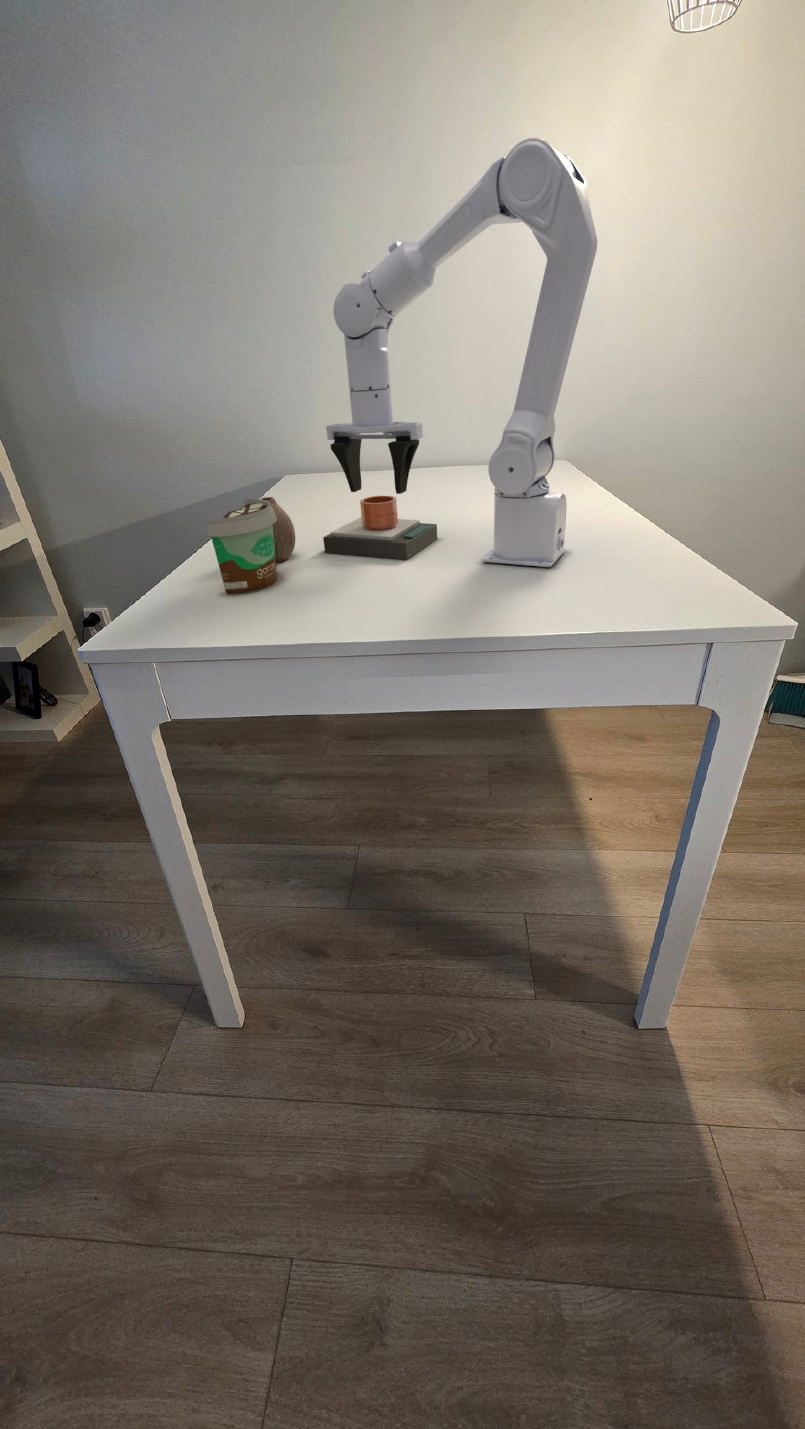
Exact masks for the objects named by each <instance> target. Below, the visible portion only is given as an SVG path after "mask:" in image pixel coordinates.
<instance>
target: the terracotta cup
mask: <svg viewBox="0 0 805 1429" xmlns="http://www.w3.org/2000/svg"><path fill="white" fill-rule="evenodd" d="M397 499H398V498H397V497H396V496H392V495H373V496H368V497H364V498H361V499H360V502H359V504H360V515H361V517H362V525H363V526H365V528H366V529H367V530H373V531H381V530H388V529H392V528H394V527H395V526H396V524H397V523H398V519H399V517H398V516H399V514H398V502H397Z"/></svg>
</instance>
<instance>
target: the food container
mask: <svg viewBox="0 0 805 1429" xmlns="http://www.w3.org/2000/svg"><path fill="white" fill-rule="evenodd" d="M243 500H244V506H242V507H241V508H239V509H236V510H235V509H234V510H231V511H228V512H227V513H226V514H225V515H224V516H223V517H220V518H207V519H206V522H207V525H206V528H207V537H208V538H211V542H212V545H213V549H214V553H215V556H216V561H217V564H218V569H219V571H220V576H221V580H222V582H223V587H224V590H225V594H226V595H242V594H249V593H254V592H259V591H261V590H264V589H267V588H269V587H271V586H273V585H274V584H276V582H277V581H278V573H277V562H276V559H275V548H274V537H273V525H272V524H274V523H275V522H276V521H277V518H276V515H275V512H274V510H273V507H272V506H270V503H269V502H268V501H266V500H262V499H260V498H246V497H245V498H244V499H243Z"/></svg>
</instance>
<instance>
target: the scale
mask: <svg viewBox="0 0 805 1429" xmlns="http://www.w3.org/2000/svg"><path fill="white" fill-rule="evenodd" d="M322 540H323V547H324V553H325V554H333V555H335V554H336V555H345V556H346V555H347V556H358V557H369V558H382V559H391V560H392V559H393V560H402V561H404V560H405V561H408V560H409V559H410V558H412V557H414V556H415V555H417V554H418V553H419V552H421V551H423V550H424V549H425V548H426V547H428V546H429V545H432V544H433V543H435V541H437V540H438V524H437V523H428V522H420V519H407V518H406V519H404V518H398V523H397V524H396V526H395V527H394V528H392V529H388V530H381V531H373V530H367V529H366V528H365V526H363V525H362V516H361V517H359V518H356V519H354V520H353V521H351V522H348V523H347V524H344V525H343V526H341V527H338V528H337V529H335V530H333V531H330V533H329V534H327V535H325V536H323V537H322Z"/></svg>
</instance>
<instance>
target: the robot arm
mask: <svg viewBox="0 0 805 1429" xmlns="http://www.w3.org/2000/svg"><path fill="white" fill-rule="evenodd" d="M478 180H479V181H477V182H476V183H475V185H473V187H472V188H470V189H469V190H468V192H466V194H465V195H463V197H462V198H461V199H460V200H459V201H457V203H456V204H455V205H454V206H453V207H451V209H450V210H449V211H448V212H447V213H446V214H445V215H444V216H443V217H442V218H441V219H440V220H439V221H438V222H437V223H436V224H435V225H434V226H433V227H432V228H431V230H429V231H428V232H427V233H426V234H425V235H424V236H423V237H422V238H421V239H420V240H419V241H415V240H412V239H403V241H402V242H401V241H394V242H392V243H391V244H390V245H389V246H388V251H389V254H388V255H387V256H386V257H385V258H383V259H382V260H381V261H380V262H379V263H378V264H377V265H376V266H375V267H374V268H373V269H371V270H365V271H364V272H363V273H362V274H361V275H360V276H361V281H360V283H357V282H349V283H345V284H344V285H343V286H342V288H341V289H340V291H339V292H338V293H337V295H336V297H335V299H334V301H333V302H334V303H333V317H334V322H335V324H336V326H337V328H338V329H339V331H340V332H341V333H342V334H343V337H344V348H345V359H346V370H347V380H348V389H349V399H350V400H349V401H350V410H351V421H352V422H346V423H331V424H328V425H327V424H326V426H325V428H326V437H327V440H328V441H333V443H331V444H330V450H331V452H332V453H333V454H334V456H335V458H336V459H337V461H338V463H339V465H340V467H341V469H342V471H343V473H344V475H345V478H346V480H347V483H348V487H349V490H350V492H351V493H356V492H358V491H361V490H362V473H361V472H362V471H361V450H362V449H361V448H362V440H393V441H391V442H388V443H387V445H388V446H387V447H388V450H389V452H390V457H391V462H392V466H393V473H394V474H393V475H394V489H395V493H396V495H401V494H403V493H405V492H407V489H408V488H407V486H408V482H409V481H408V480H409V475H410V471H411V467H412V463H413V461H414V457H415V455H416V453H417V450H418V448H419V445H420V439H423V438H424V433H423V422H411V421H410V422H406V421H394V417H393V403H392V388H391V387H392V386H391V373H390V359H389V356H390V355H389V338H388V337H389V331H390V329H391V327H392V326H393V323H394V318H396V317H397V316H398V315H399V314H401V313H402V312H403V311H404V310H405V309H406V308H408V307H409V306H410V305H411V304H412V303H414V301H416V300H417V299H418V298H419V297H421V296H422V295H423V294H424V293H425V292H426V291H428V290H429V289H430V288H431V287H432V286H433V283H434V280H435V274H436V269H437V268H438V267H439V266H440V265H442V264H443V263H444V262H446V261H447V260H448V259H450V257H452V256H454V254H456V253H457V252H459V251H460V250H461V249H462V248H463V247H465V246H466V245H467V244H468V243H470V242H471V241H472V240H474V239H475V238H476V237H478V235H480V234H481V233H483V232H484V231H485V230H487V229H488V228H489V227H491V226H492V225H502V224H503V225H504V224H518V223H523V224H524V225H525V226H527V228H529V229H530V230H531V232H532V234H533V236H534V238H535V239H536V241H537V243H538V245H539V246H540V247H541V248H540V249H542V251H543V253H544V254H545V257H546V264H545V268H544V272H543V273H544V274H543V278H542V281H541V287H540V290H539V295H538V300H537V304H536V308H535V312H534V318H533V322H532V327H531V331H530V336H529V341H528V344H527V349H526V354H525V357H524V363H523V366H522V371H521V376H520V381H519V384H518V389H517V393H516V398H515V402H514V407H513V411H512V413H511V415H510V417H509V419H508V421H507V423H506V425H505V426H504V429H503V432H502V436H501V440H500V443H499V444H498V447H497V448H496V449H495V450H494V451H493V453H492V455H491V456H490V459H489V462H488V476H489V480H490V482H491V484H492V485H493V486H494V492H493V493H494V496H493V497H494V498H493V499H494V501H493V504H494V505H493V507H494V508H493V550H492V551H491V552H489V553H488V554H486V556H485V557H484V558H483V562H484V563H495V564H507V565H516V566H517V565H519V566H530V567H542V568H551V567H552V566H553V565H554V564H555V562H557V561H558V559H559V558H560V557H561V556H562V555H563V553H564V552H565V551H566V548H565V536H566V522H567V498H566V495H565V494H564V493H561V492H553V491H551V490H550V484H549V482H548V479H547V478H546V477H547V476H548V475H549V474H550V472H551V471H552V469H553V467H554V464H555V459H556V456H555V455H556V454H555V449H554V436H555V432H556V422H555V413H556V409H557V405H558V402H559V397H560V394H561V390H562V385H563V382H564V378H565V374H566V370H567V367H568V364H569V359H570V355H571V351H572V347H573V342H574V340H575V335H576V332H577V329H578V328H577V327H578V324H579V321H580V317H581V313H582V308H583V306H584V301H585V297H586V294H587V289H588V285H589V281H590V277H591V273H592V270H593V266H594V262H595V258H596V254H597V250H598V236H597V232H596V228H595V223H594V219H593V218H594V217H593V214H592V209H591V205H590V201H589V197H588V183H587V180H586V179H585V177H584V176H583V175H582V173H581V171H580V170H579V168H578V167H577V166H576V164H575V162H574V161H573V160H572V158H570V157H569V156H567V155H566V154H563V153H561V152H559V151H557V150H556V149H555V147H553V146H552V145H551V144H550V143H549V142H548V141H547V140H545V139H543V138H540V137H528V138H525V139H522V140H521V141H520V142H518V143H516V144H515V145H514V146H513V147H512V148H511V149H510V150H509V152H508V153H507V155H506V157H505V156H502V157H500V158H498V159H497V160H496V161H494V162H493V163H491V165H490V167H489V168H488V169H487V170H486V172H484V174H483V176H482V177H481V178H480V179H478ZM377 433H378V434H377ZM380 433H382V434H380Z"/></svg>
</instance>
